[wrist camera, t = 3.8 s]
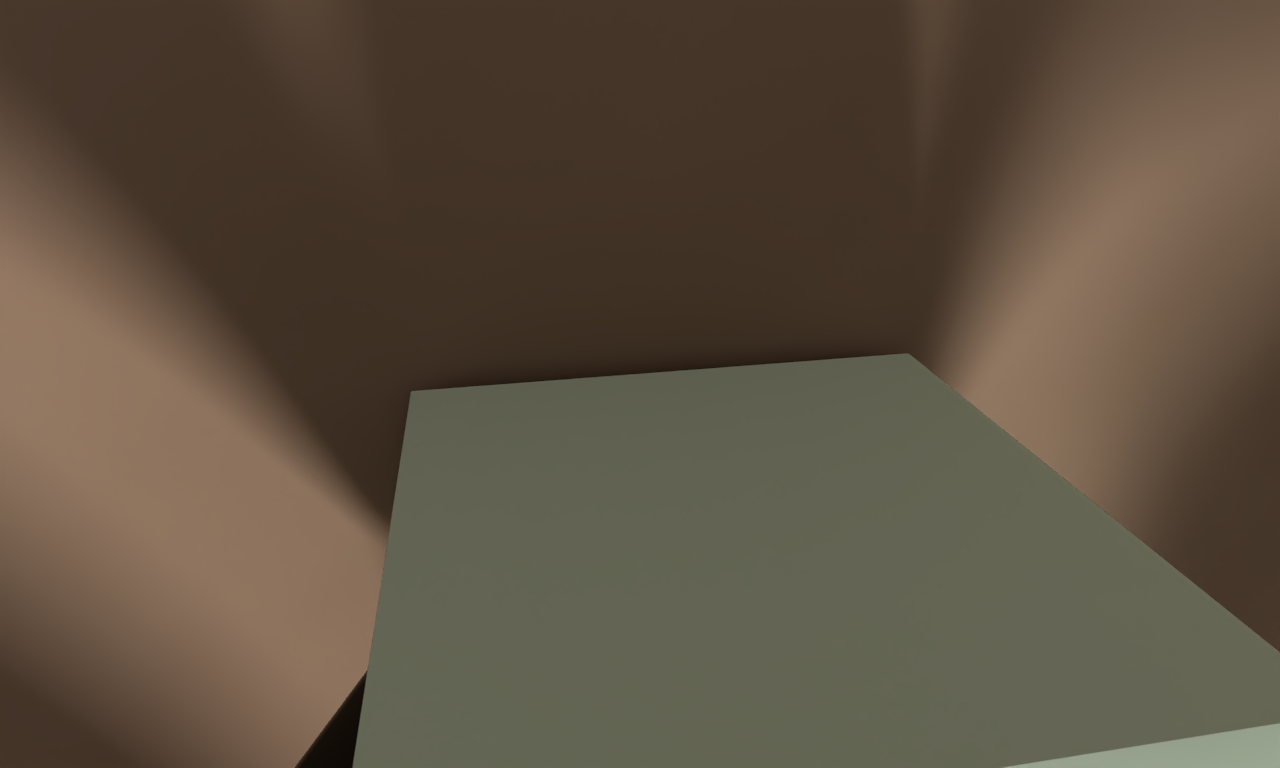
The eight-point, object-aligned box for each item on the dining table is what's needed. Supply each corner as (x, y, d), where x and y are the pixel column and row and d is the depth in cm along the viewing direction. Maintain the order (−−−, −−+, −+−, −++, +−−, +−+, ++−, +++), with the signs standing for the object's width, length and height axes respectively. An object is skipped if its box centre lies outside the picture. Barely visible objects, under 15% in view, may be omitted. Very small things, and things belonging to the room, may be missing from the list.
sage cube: (908, 352, 9) (1353, 710, 4) (862, 719, 11) (1132, 1221, 6) (411, 390, 8) (334, 875, 4) (459, 778, 10) (448, 1397, 6)
